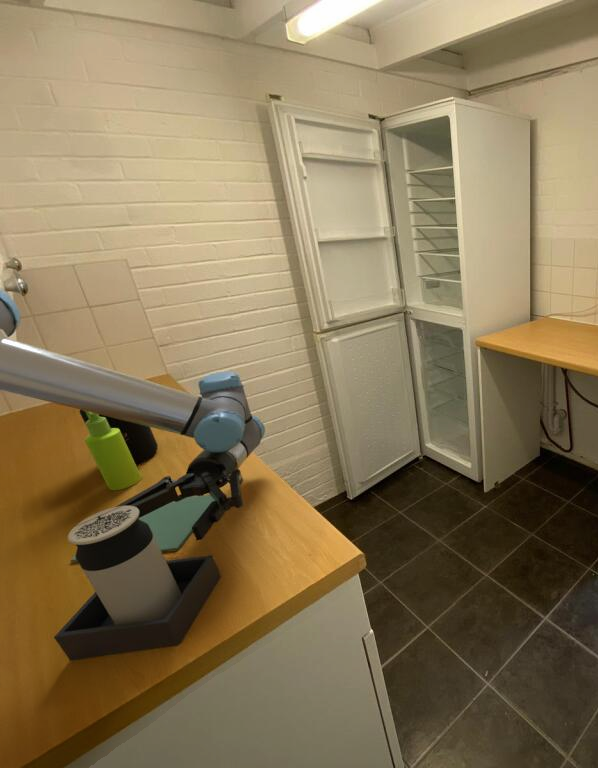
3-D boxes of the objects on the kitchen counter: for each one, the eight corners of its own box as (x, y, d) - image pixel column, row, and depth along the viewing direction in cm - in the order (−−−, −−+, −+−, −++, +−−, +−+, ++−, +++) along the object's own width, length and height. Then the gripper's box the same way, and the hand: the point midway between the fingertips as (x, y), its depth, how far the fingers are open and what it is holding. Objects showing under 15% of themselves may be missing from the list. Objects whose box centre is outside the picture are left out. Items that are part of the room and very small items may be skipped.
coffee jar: (94, 468, 104) (61, 403, 97) (135, 445, 114) (108, 385, 106) (131, 470, 102) (101, 405, 95) (170, 447, 112) (144, 386, 105)
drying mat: (71, 562, 76) (69, 560, 76) (132, 505, 90) (131, 502, 90) (178, 550, 78) (177, 547, 78) (221, 495, 92) (220, 493, 92)
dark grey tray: (69, 660, 59) (53, 637, 57) (130, 587, 70) (118, 566, 68) (179, 645, 61) (167, 622, 59) (221, 576, 72) (212, 554, 70)
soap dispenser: (116, 494, 94) (76, 416, 86) (104, 485, 97) (65, 409, 89) (147, 481, 98) (112, 405, 90) (135, 472, 102) (101, 398, 94)
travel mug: (188, 610, 65) (144, 521, 58) (122, 647, 60) (65, 553, 53) (177, 582, 71) (136, 496, 63) (115, 613, 65) (63, 524, 58)
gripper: (286, 472, 88) (241, 547, 69) (158, 485, 86) (73, 567, 66) (277, 442, 85) (227, 511, 66) (144, 454, 83) (51, 530, 63)
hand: (150, 539), depth 66 cm, fingers open, 13 cm apart
